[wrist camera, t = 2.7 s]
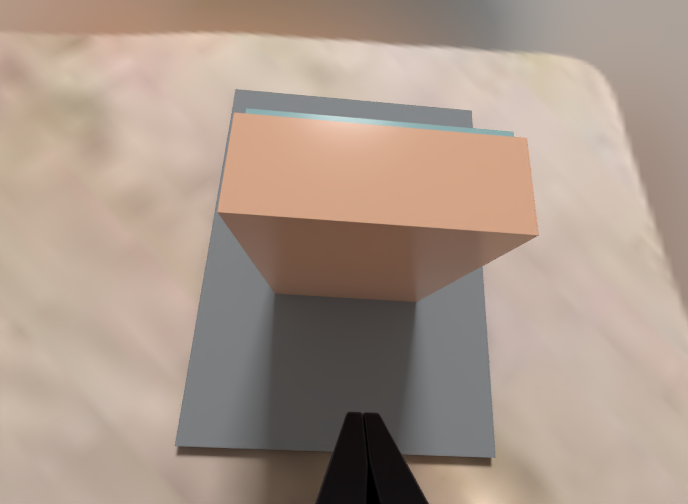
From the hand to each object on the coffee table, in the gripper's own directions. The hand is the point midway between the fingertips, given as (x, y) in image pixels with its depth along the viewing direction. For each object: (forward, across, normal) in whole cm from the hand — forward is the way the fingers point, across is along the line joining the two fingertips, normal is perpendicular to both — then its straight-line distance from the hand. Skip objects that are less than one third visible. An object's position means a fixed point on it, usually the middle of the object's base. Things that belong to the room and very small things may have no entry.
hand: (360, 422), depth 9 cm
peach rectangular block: (+9, 0, +1) cm, 9 cm away
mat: (+10, 0, +1) cm, 10 cm away
